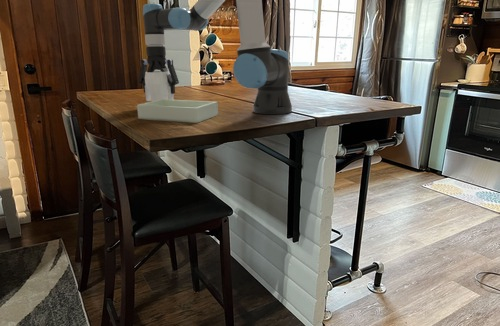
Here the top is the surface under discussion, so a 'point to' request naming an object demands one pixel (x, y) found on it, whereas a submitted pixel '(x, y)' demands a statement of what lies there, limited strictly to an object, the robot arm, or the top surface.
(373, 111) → the top surface
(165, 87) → the cup
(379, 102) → the top surface
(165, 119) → the white shallow tray
